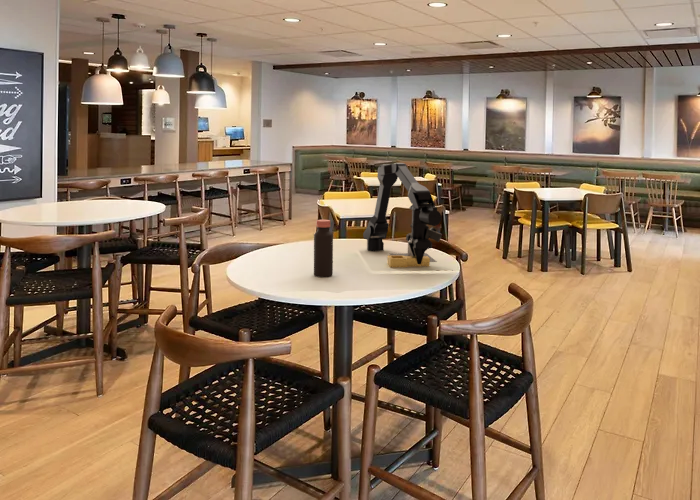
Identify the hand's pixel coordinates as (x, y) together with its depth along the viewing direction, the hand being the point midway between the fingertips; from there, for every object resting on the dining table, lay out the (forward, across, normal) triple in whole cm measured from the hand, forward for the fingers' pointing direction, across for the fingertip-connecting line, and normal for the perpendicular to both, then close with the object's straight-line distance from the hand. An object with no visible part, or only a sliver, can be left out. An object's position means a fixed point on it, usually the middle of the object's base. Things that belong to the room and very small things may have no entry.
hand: (417, 262), depth 235 cm
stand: (+2, +15, -1) cm, 15 cm away
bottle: (+2, -10, +37) cm, 38 cm away
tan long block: (+2, 0, +4) cm, 5 cm away
